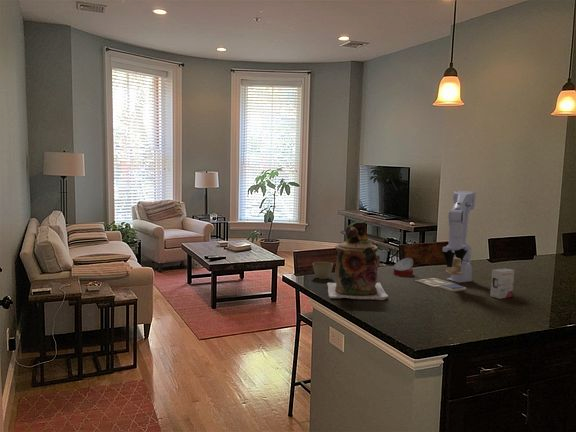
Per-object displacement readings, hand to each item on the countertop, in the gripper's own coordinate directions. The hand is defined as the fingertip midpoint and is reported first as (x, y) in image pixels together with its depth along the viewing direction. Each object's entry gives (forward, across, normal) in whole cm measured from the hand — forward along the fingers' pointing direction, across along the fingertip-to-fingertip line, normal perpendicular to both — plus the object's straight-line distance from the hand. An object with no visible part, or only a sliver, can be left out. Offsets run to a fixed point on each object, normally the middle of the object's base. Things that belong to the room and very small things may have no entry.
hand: (453, 266), depth 225 cm
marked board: (+10, -1, -11) cm, 15 cm away
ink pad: (+10, 0, 0) cm, 10 cm away
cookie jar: (+11, +44, -16) cm, 48 cm away
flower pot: (+11, +39, -46) cm, 61 cm away
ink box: (+11, -7, +20) cm, 24 cm away
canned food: (+11, -3, -33) cm, 35 cm away
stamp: (+3, 0, 0) cm, 3 cm away
